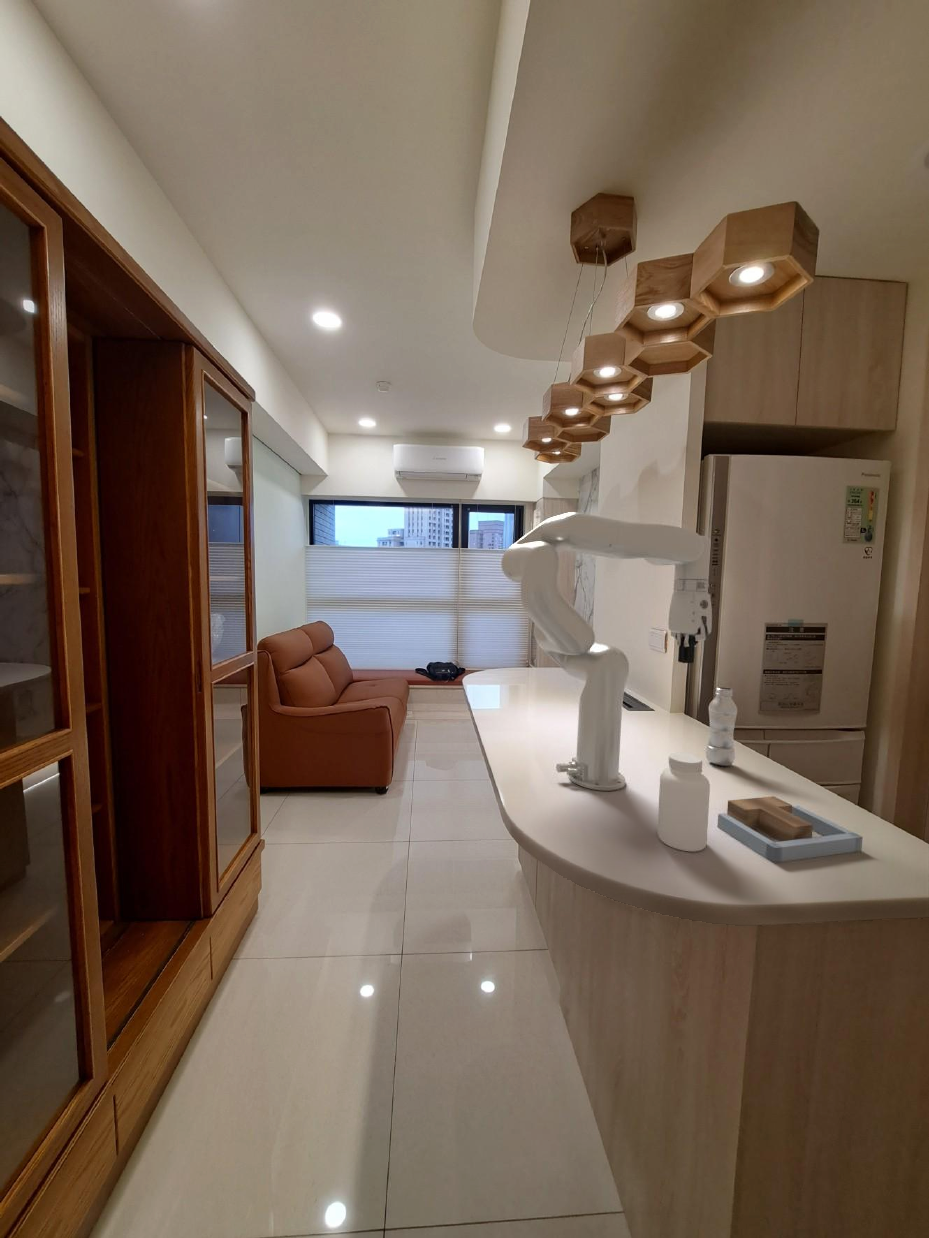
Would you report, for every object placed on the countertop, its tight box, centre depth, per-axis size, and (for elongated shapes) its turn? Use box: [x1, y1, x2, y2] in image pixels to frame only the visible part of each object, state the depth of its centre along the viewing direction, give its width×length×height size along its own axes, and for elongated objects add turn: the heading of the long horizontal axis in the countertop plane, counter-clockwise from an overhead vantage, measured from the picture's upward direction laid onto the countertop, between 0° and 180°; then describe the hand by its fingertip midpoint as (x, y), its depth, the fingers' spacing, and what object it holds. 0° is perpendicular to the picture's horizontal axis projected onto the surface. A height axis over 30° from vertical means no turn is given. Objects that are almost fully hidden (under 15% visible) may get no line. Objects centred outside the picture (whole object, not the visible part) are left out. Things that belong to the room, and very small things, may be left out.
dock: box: [716, 805, 863, 864], centre depth 85 cm, size 19×12×2 cm, turn 104°
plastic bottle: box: [705, 686, 738, 767], centre depth 122 cm, size 6×7×20 cm
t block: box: [726, 795, 814, 842], centre depth 87 cm, size 11×11×4 cm
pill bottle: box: [657, 752, 711, 852], centre depth 83 cm, size 8×8×15 cm
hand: (685, 662), depth 115 cm, fingers closed
